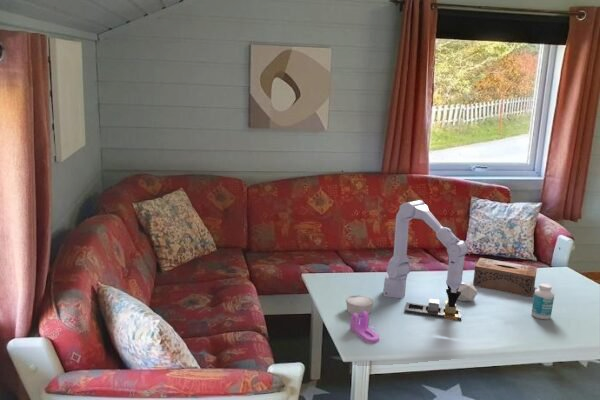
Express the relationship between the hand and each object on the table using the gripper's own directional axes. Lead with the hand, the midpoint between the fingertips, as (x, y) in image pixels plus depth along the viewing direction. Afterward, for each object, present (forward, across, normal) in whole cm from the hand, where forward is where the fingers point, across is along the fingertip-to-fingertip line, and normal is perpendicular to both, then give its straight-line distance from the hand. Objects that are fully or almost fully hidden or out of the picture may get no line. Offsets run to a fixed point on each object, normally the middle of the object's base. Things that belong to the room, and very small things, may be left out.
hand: (451, 303), depth 220 cm
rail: (+6, 0, +7) cm, 9 cm away
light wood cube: (+5, 0, 0) cm, 5 cm away
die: (+6, +20, -6) cm, 22 cm away
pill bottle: (+6, +14, -36) cm, 39 cm away
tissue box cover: (+6, +45, -24) cm, 51 cm away
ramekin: (+6, -8, +36) cm, 37 cm away
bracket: (+6, -28, +30) cm, 41 cm away
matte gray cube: (+5, 0, +7) cm, 9 cm away
